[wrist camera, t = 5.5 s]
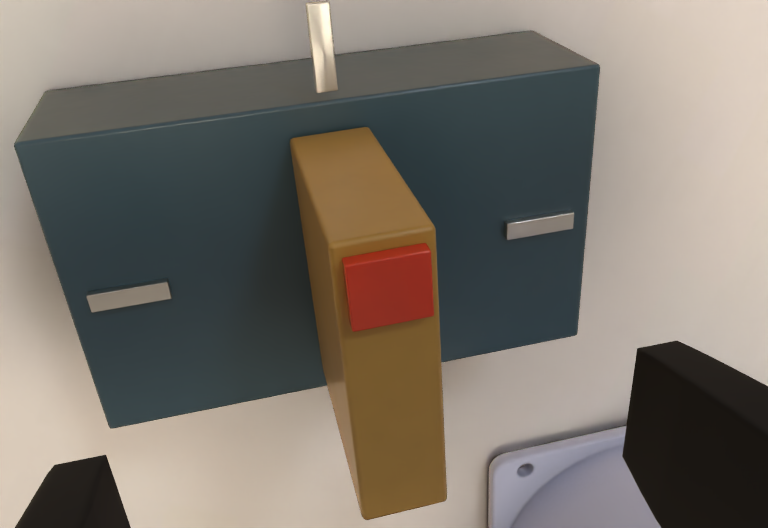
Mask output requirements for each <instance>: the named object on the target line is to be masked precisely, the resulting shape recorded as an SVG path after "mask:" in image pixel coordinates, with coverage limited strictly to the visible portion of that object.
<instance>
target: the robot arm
mask: <svg viewBox="0 0 768 528" xmlns="http://www.w3.org/2000/svg"><path fill="white" fill-rule="evenodd" d="M524 464H525V465H524ZM521 465H524V466H521ZM520 466H521V467H520ZM15 528H131V527H130V524H129V521H128V519H127V516H126V513H125V510H124V507H123V504H122V501H121V498H120V495H119V492H118V489H117V486H116V483H115V480H114V477H113V474H112V471H111V468H110V465H109V462H108V460H107V457H106V455H103V456H98V457H93V458H88V459H83V460H78V461H73V462H68V463H63V464H58V465H54V466H53V468H52V469H51V470H50V471H49V473H48V474H47V476H46V477H45V479H44V481H43V482H42V484H41V485H40V487H39V489H38V490H37V492H36V494H35V495H34V497H33V499H32V500H31V502H30V504H29V505H28V507H27V509H26V510H25V512H24V514H23V515H22V517H21V519H20V520H19V522H18V524H17V525H16V527H15ZM488 528H768V386H766V385H764V384H762V383H760V382H758V381H756V380H755V379H753V378H751V377H749V376H747V375H745V374H743V373H741V372H739V371H737V370H735V369H734V368H732V367H730V366H728V365H726V364H724V363H722V362H720V361H718V360H716V359H714V358H712V357H710V356H708V355H706V354H704V353H702V352H700V351H698V350H696V349H694V348H692V347H690V346H687V345H685V344H683V343H681V342H679V341H673V342H668V343H663V344H658V345H653V346H648V347H643V348H638V349H637V355H636V362H635V369H634V376H633V383H632V390H631V397H630V405H629V412H628V419H627V426H622V427H618V428H613V429H609V430H605V431H600V432H596V433H591V434H587V435H583V436H578V437H574V438H569V439H565V440H560V441H556V442H552V443H547V444H543V445H538V446H534V447H530V448H525V449H521V450H516V451H512V452H507V453H504V454H501V455H499V456H497V457H496V458H495V459H494V460H493V461H492V462H491V464H490V467H489V507H488Z"/></svg>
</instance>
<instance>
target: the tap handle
mask: <svg viewBox="0 0 768 528" xmlns="http://www.w3.org/2000/svg"><path fill="white" fill-rule="evenodd" d="M290 149H291V155H292V162H293V169H294V176H295V183H296V189H297V196H298V203H299V210H300V217H301V223H302V230H303V237H304V244H305V250H306V257H307V264H308V271H309V278H310V284H311V291H312V298H313V305H314V312H315V318H316V325H317V332H318V339H319V345H320V352H321V359H322V366H323V371H324V375H325V379H326V382H327V386H328V390H329V394H330V398H331V401H332V405H333V409H334V413H335V416H336V420H337V424H338V428H339V431H340V435H341V439H342V443H343V447H344V450H345V454H346V458H347V462H348V465H349V469H350V473H351V477H352V480H353V484H354V488H355V492H356V496H357V499H358V503H359V507H360V511H361V514H362V517H363V518H364V519H365V520H369V519H373V518H378V517H382V516H386V515H390V514H394V513H398V512H402V511H406V510H411V509H415V508H419V507H423V506H427V505H431V504H435V503H439V502H443V501H445V500H446V499H447V484H446V461H445V437H444V414H443V391H442V368H441V344H440V321H439V298H438V275H437V251H436V228H435V226H434V225H433V223H432V222H431V220H430V219H429V217H428V216H427V214H426V213H425V211H424V210H423V208H422V207H421V205H420V204H419V202H418V201H417V199H416V198H415V196H414V195H413V193H412V192H411V190H410V189H409V187H408V186H407V184H406V183H405V181H404V180H403V178H402V177H401V175H400V174H399V172H398V171H397V169H396V168H395V166H394V165H393V163H392V162H391V160H390V159H389V157H388V156H387V154H386V153H385V151H384V150H383V148H382V147H381V145H380V144H379V142H378V141H377V139H376V138H375V136H374V135H373V133H372V132H371V130H370V129H369V128H368V127H362V128H355V129H348V130H342V131H335V132H329V133H322V134H316V135H309V136H302V137H296V138H292V139H291V140H290Z"/></svg>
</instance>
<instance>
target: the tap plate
mask: <svg viewBox="0 0 768 528" xmlns="http://www.w3.org/2000/svg"><path fill="white" fill-rule="evenodd" d="M306 12H307V21H308V30H309V39H310V48H311V57H312V58H309V59H301V60H293V61H285V62H277V63H269V64H261V65H253V66H244V67H236V68H228V69H220V70H212V71H204V72H196V73H188V74H180V75H172V76H164V77H156V78H148V79H140V80H132V81H124V82H115V83H107V84H99V85H91V86H83V87H75V88H67V89H59V90H51V91H46V92H44V94H43V96H42V97H41V99H40V101H39V103H38V104H37V106H36V108H35V109H34V111H33V113H32V114H31V116H30V118H29V119H28V121H27V123H26V125H25V126H24V128H23V130H22V131H21V133H20V135H19V136H18V138H17V140H16V141H15V143H14V147H15V150H16V153H17V156H18V159H19V162H20V165H21V168H22V171H23V174H24V177H25V180H26V183H27V186H28V189H29V192H30V195H31V198H32V201H33V204H34V206H35V209H36V212H37V215H38V218H39V221H40V224H41V227H42V230H43V233H44V236H45V239H46V242H47V245H48V248H49V251H50V254H51V257H52V260H53V263H54V266H55V269H56V272H57V274H58V277H59V280H60V283H61V286H62V289H63V292H64V295H65V298H66V301H67V304H68V307H69V310H70V313H71V316H72V319H73V322H74V325H75V328H76V331H77V334H78V337H79V339H80V342H81V345H82V348H83V351H84V354H85V357H86V360H87V363H88V366H89V369H90V372H91V375H92V378H93V381H94V384H95V387H96V390H97V393H98V396H99V399H100V402H101V405H102V407H103V410H104V413H105V416H106V419H107V422H108V425H109V427H110V428H118V427H123V426H128V425H133V424H138V423H142V422H147V421H152V420H157V419H162V418H167V417H172V416H177V415H182V414H187V413H192V412H197V411H202V410H207V409H212V408H217V407H222V406H227V405H232V404H237V403H242V402H247V401H252V400H257V399H262V398H267V397H272V396H277V395H282V394H287V393H292V392H297V391H302V390H307V389H312V388H317V387H322V386H327V382H326V379H325V375H324V371H323V366H322V359H321V352H320V345H319V339H318V332H317V325H316V318H315V312H314V305H313V298H312V291H311V284H310V278H309V271H308V264H307V257H306V250H305V244H304V237H303V230H302V223H301V217H300V210H299V203H298V196H297V189H296V183H295V176H294V169H293V162H292V155H291V149H290V140H291V139H292V138H296V137H302V136H309V135H316V134H322V133H329V132H335V131H342V130H348V129H355V128H362V127H368V128H369V129H370V130H371V132H372V133H373V135H374V136H375V138H376V139H377V141H378V142H379V144H380V145H381V147H382V148H383V150H384V151H385V153H386V154H387V156H388V157H389V159H390V160H391V162H392V163H393V165H394V166H395V168H396V169H397V171H398V172H399V174H400V175H401V177H402V178H403V180H404V181H405V183H406V184H407V186H408V187H409V189H410V190H411V192H412V193H413V195H414V196H415V198H416V199H417V201H418V202H419V204H420V205H421V207H422V208H423V210H424V211H425V213H426V214H427V216H428V217H429V219H430V220H431V222H432V223H433V225H434V226H435V228H436V251H437V275H438V298H439V321H440V344H441V362H446V361H451V360H456V359H461V358H466V357H471V356H476V355H481V354H486V353H491V352H496V351H501V350H506V349H511V348H516V347H521V346H525V345H530V344H535V343H540V342H545V341H550V340H555V339H560V338H565V337H570V336H575V335H577V331H578V319H579V308H580V296H581V284H582V273H583V261H584V249H585V238H586V226H587V214H588V202H589V191H590V179H591V167H592V156H593V144H594V132H595V121H596V109H597V97H598V86H599V74H600V66H599V64H597V63H595V62H593V61H591V60H589V59H587V58H585V57H583V56H581V55H579V54H577V53H576V52H574V51H572V50H570V49H568V48H566V47H564V46H562V45H560V44H558V43H556V42H554V41H552V40H550V39H548V38H546V37H544V36H542V35H540V34H538V33H536V32H534V31H527V32H519V33H511V34H503V35H494V36H486V37H478V38H470V39H462V40H454V41H446V42H438V43H430V44H422V45H414V46H406V47H398V48H390V49H382V50H373V51H365V52H357V53H349V54H341V55H335V54H334V44H333V33H332V23H331V13H330V3H329V2H328V1H319V2H310V3H306Z"/></svg>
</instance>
